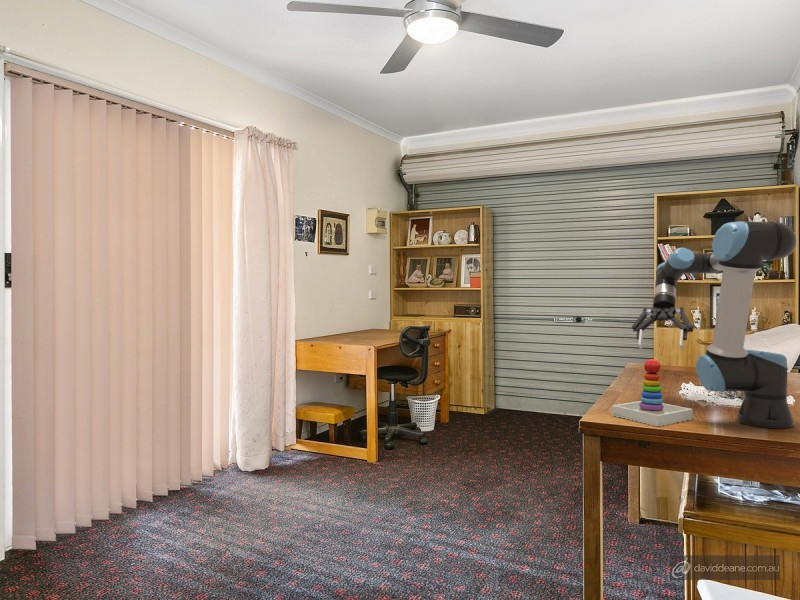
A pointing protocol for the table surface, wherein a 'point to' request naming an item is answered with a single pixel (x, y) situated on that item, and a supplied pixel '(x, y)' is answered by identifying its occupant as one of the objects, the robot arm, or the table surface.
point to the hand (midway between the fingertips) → (660, 346)
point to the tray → (669, 417)
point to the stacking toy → (651, 389)
